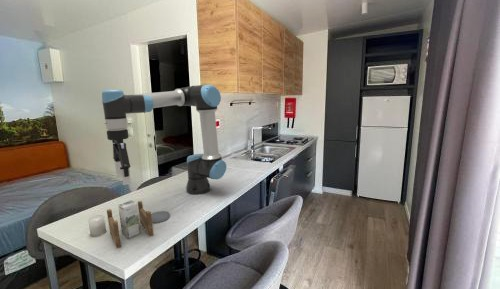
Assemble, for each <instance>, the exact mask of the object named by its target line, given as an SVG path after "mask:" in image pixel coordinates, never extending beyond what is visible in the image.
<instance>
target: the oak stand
mask: <svg viewBox="0 0 500 289" xmlns="http://www.w3.org/2000/svg"><path fill="white" fill-rule="evenodd" d="M137 204H138V213H139V223H140V226H141V227H142V228H143V230H144V231H145V232H146V234H147V235H148V236H149V237H153V236H154V228H153V223H152V217H151V214H152V211H151V210H145V209H144V205H143V201H142V200H138V201H137ZM106 214H107V220H108V221H107V222H108V229H109V234H110V236H111V239H112V241H113V243H114V245H115V247H116V249H119V248H122V243H121V235H120V228H119V221H118V220H115V218H114V217H113V211H112V209H111V208H109V209H106Z"/></svg>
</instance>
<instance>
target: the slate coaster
mask: <svg viewBox="0 0 500 289" xmlns="http://www.w3.org/2000/svg"><path fill="white" fill-rule="evenodd" d="M170 213H171V212H169V211H165V210H159V211H155V212H151V217H152V225H155V224H160V223H163V222H166V221H168V220H169V219H170V218H171V214H170Z"/></svg>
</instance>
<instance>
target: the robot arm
mask: <svg viewBox="0 0 500 289" xmlns="http://www.w3.org/2000/svg"><path fill="white" fill-rule="evenodd" d="M221 99H222V97H221V92H220V90H219V89H218V88H217V86H215V85H213V84H200V85H198V84H197V85H190V86H186V87H181V88H175V89H174V90H170V91H159V92H149V93H139V94H138V93H137V94H128V95H127V94H125V93H124V91H123V90H122V89H104V90H102V92H101V100H102V101H101V103H102V107H103V114H104V120H105V121H103V124H104V125H105V128H106V129H107V130H106V138H107V140H108V141H112V155H113V156H112V159H113V161H114V166H115V168H114V169H115V174H116V177H121V178H122V185H123V186H127V185H130V184H132V181H131V180H132V179H131V170H130V168H131V163H130V160H129V159H130V158H129V154H128V150H127V143H126V142H124V140H127V139H129V130H128V120H127V114H128V115H129V114H142V113H144V114H145V113H151V112H152V111H153V109H156V108H162V107H170V106H178V107H182V106H183V107H184V106H186V107H187V106H188V107H195V110H196V112H197V113H199V121H200V131H201V139H202V142H201V143H202V150H203V153H197V154H196V153H195V154H192V155H191V154H190V155H188V156H187V158H186V168H187V183H186V186H185V190H186V193H187V194H189V195H202V194H206V193H208V192H209V191H210V190H211V184H210V181H209V180H208V179H211V180H219V179H222V178H223V177H224V175H225V173H226V171H227V163H226V162H225V160H223V158H222V154H221V153H219V143H218V141H219V140H218V131H217V122H216V111H217V110H218V106H219V105H220V103H221Z"/></svg>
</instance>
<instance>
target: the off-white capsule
mask: <svg viewBox="0 0 500 289" xmlns="http://www.w3.org/2000/svg"><path fill="white" fill-rule="evenodd" d="M87 221H88V227H89V228H88V229H89V234H90V237H91V238H93V237H94V238H96V237H101V236H103V235H104V234H106V233H107V226H106V219H105V215H104V214H98V215H93V216H91V217H89V218H88V220H87Z"/></svg>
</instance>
